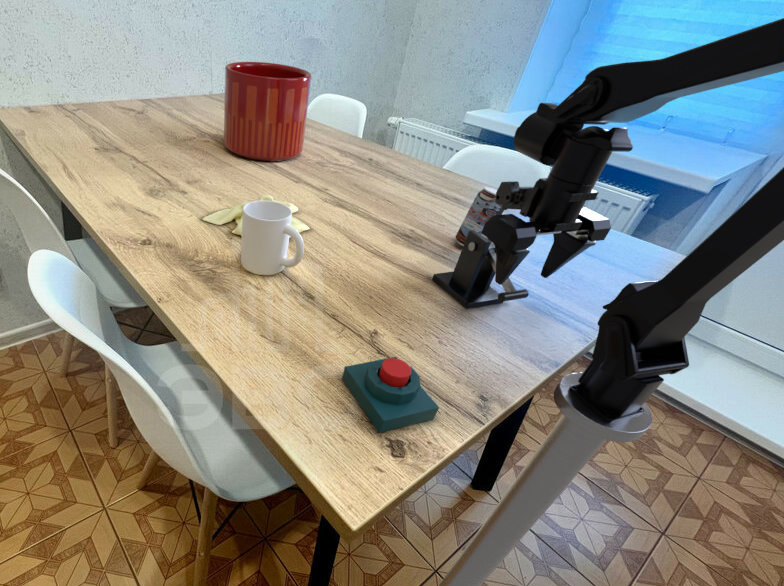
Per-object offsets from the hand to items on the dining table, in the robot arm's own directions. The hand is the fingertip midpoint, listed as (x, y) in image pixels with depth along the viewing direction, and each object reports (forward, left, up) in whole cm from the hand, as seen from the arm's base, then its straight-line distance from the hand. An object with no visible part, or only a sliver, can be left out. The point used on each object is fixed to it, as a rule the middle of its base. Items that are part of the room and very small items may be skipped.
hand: (521, 279), depth 72 cm
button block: (-11, +29, -8) cm, 32 cm away
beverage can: (+24, -13, -8) cm, 29 cm away
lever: (+5, 0, -2) cm, 6 cm away
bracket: (+9, 0, -8) cm, 12 cm away
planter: (+90, +10, -8) cm, 91 cm away
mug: (+24, +32, -8) cm, 41 cm away
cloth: (+43, +28, -8) cm, 52 cm away
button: (-11, +29, -4) cm, 31 cm away
